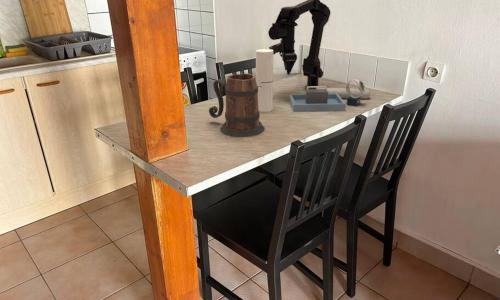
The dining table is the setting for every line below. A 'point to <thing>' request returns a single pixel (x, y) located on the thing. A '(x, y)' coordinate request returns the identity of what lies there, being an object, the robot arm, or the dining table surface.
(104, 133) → the dining table surface
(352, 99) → the watch
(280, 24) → the robot arm
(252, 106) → the tankard
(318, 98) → the caddy
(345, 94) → the tube
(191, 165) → the dining table surface
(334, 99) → the tray
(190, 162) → the dining table surface
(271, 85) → the cylindrical container
